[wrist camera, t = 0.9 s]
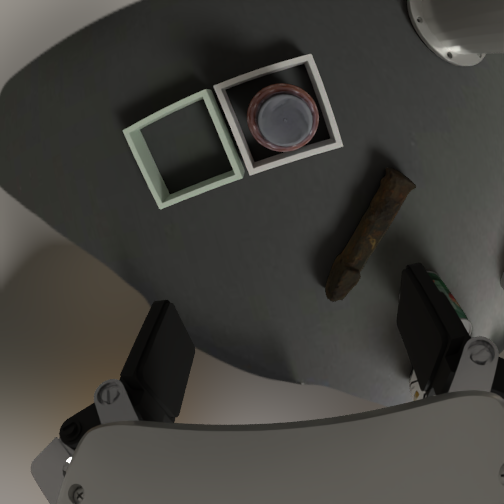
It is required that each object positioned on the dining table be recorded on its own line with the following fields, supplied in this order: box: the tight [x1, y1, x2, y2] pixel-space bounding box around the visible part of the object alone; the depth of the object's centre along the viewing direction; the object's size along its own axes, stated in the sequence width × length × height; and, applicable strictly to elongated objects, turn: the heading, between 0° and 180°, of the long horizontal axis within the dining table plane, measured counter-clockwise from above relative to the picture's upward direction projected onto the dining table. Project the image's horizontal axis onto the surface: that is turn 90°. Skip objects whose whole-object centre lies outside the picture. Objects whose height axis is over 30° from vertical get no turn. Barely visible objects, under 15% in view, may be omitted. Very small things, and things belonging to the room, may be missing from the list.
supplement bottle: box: [247, 83, 319, 152], centre depth 24 cm, size 6×6×11 cm
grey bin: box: [213, 54, 343, 175], centre depth 28 cm, size 10×10×3 cm
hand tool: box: [325, 167, 416, 302], centre depth 34 cm, size 19×4×5 cm, turn 156°
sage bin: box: [123, 89, 245, 209], centre depth 30 cm, size 10×10×3 cm
